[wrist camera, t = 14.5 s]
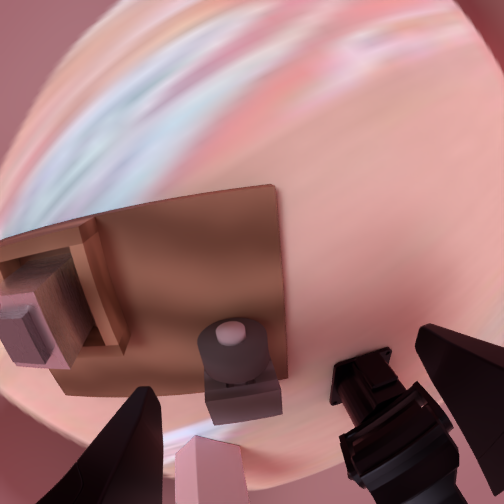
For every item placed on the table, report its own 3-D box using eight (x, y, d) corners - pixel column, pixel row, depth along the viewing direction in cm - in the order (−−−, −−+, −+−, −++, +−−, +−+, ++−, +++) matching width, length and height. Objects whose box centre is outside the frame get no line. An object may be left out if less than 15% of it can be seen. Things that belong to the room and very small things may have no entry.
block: (99, 315, 18) (66, 378, 11) (49, 319, 17) (11, 373, 11) (77, 251, 16) (26, 299, 10) (28, 261, 15) (-25, 304, 9)
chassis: (284, 369, 23) (302, 416, 18) (69, 387, 21) (53, 427, 16) (270, 184, 18) (297, 196, 12) (2, 239, 15) (-40, 264, 10)
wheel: (266, 365, 21) (278, 406, 17) (211, 374, 20) (214, 416, 16) (259, 305, 19) (273, 345, 15) (195, 315, 18) (194, 357, 14)
